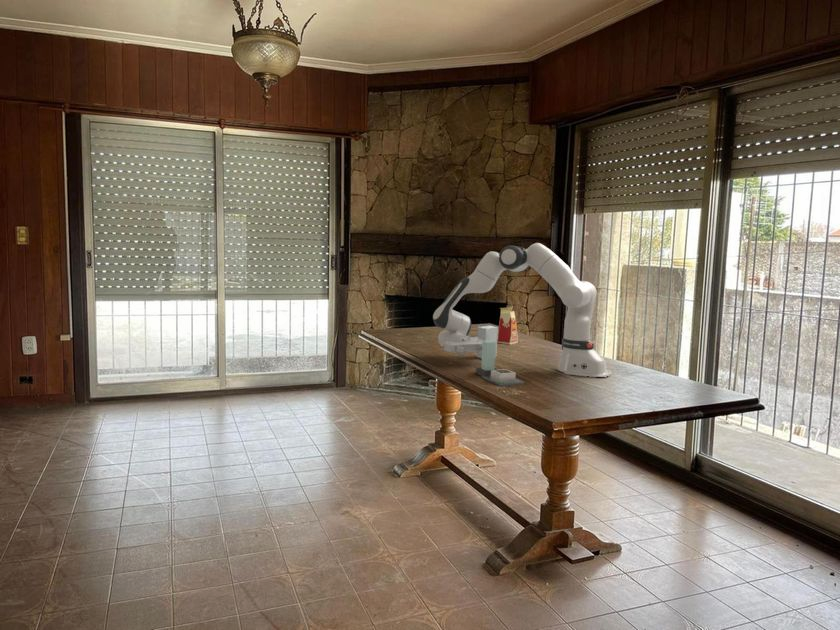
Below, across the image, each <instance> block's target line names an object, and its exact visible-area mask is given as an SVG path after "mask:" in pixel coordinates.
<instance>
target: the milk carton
mask: <svg viewBox="0 0 840 630" xmlns="http://www.w3.org/2000/svg"><path fill="white" fill-rule="evenodd" d="M513 307H514V306H513V305H512V306H508V307H500V308H499V309H500V314H499V315H500V316H499V324H498V335H497V344H504V345H514V344H517V343H518V342H519V341H518V340H519V339H518V327H517V320H516V313H515V310H514V309H513Z"/></svg>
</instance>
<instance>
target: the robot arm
mask: <svg viewBox="0 0 840 630" xmlns="http://www.w3.org/2000/svg"><path fill="white" fill-rule="evenodd" d="M529 267H531V268H532V269H533V270H535V272H536V273H537V274H539V276H540V277H542V279H544V280H545V281H546V282H547V283H548V284H549V285H550V286H551V287H552V289H553V290H554V291H555V293H556V294H557V296H558V297H559V298H560V299H561V302H562V304H564V305H565V307H567V313H566V314H565V315H566V316H565V318H564V325H563V327H564V328H563V337H562V339H561V356H560V357H561V358H560V360H559V364H558V366H557V371H559V372H561V373H563V374H565V375H570V376H571V375H572V376H578V377H579V376H580V377H587V376H589V377H590V378H596V377H605V378H608V377H611V375H612V371H611V370H609V369H607V363H606V359H605V358H604V357H603V356H602V355H601V354H600V353H599V352H597V351H596V350H595V349H594V347H595V346H594V345H595V344H596V342H595V341H592V340H591V338H590V337H591V326H592V325H591V324H592V320H593V319H592V317H593V314H594V309H595V304H596V299H597V295H598V291H597V288H596V287H595V285H594V284H592V283H591V282H590V281H587V280H586V281H585V280H580V279H578V278H577V276H576V275H575V274H574V272H573V271H572V270H571V268H570V266H569V265H568V264H567V263H565V262H564V261H563V259H561V258H560V257H559V256H558V255H557V254H556V253H554V251H552V250H551V249H550V248H548V247H547V246H546V245H544V244H542V243H540V242H535V243H533V244H531V245H530V246H529V247H527V248H524V247H521V246H516V245H506V246H505V247H502V249H501V250H500V252H497V251H489V252H487V253H486V254H484V256H483V257H482V258H481V259H480V261H479V263H478V265H477V266H476V267H475V268H474V271H473V272H472V273H471V274H470V275H469V276H466V277H463V278H462V279H461V280H460V281H459V282H458V283H457V284H456V285H455V287H454V288H452V290H451V292H450V293H449V294H448V295H447V297H446V298H445V300H444V301H443V302H442V303H441V304H440V305H439V306H438V307H437V308H436V309H435V310H434V311H433V314H432V320H433V323H434V325H435V327H437V328H441V329H444V330H442V331H440V333H439V334H438V336H437V340H438V343H439V345H440V347H441V348H443V351H444V352H447V353H454V354H456V355H464V354H466V353H471V352H477V351H482V342H483V341H484V340H481V339H478V337H477V336H473V335H469V334H470V332H471V330H472V320H471V318H470V316H468V315H466V314H464V313H462V312H459V311H456V310H454V309H453V308H454V307H455V306H456V305H457V304H458V302H459V301H460V300H461V298H462V297H463V296H465V295H468V294H484V293H487V292H489V291H491V290H492V289H493V288H494V286H495V285H496V283H497V281H498V280H499V278H500V275H501V274H502V273H503V272H504V271H510V272H513V273H522V272H525V271H526V270H527V269H528V268H529ZM607 376H608V377H607Z"/></svg>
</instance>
